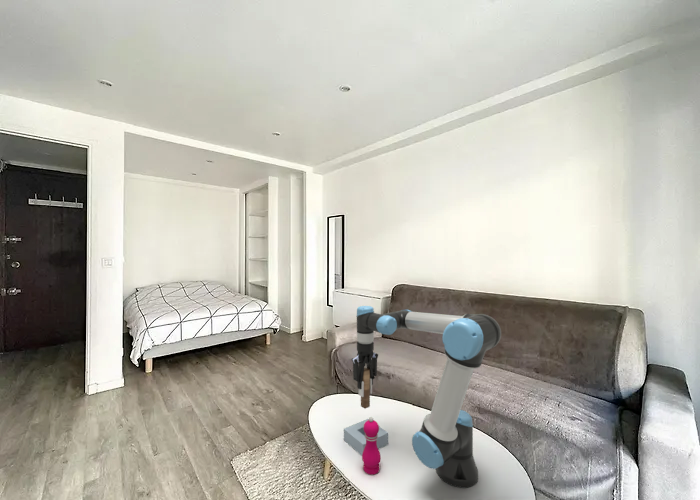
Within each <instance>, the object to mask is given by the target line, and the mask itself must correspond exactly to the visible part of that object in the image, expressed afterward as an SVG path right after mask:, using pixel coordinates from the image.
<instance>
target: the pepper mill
mask: <svg viewBox="0 0 700 500" xmlns="http://www.w3.org/2000/svg"><path fill="white" fill-rule="evenodd" d="M368 419H369V420H368V421H366V422H365V424H364V432H365V439H366V446H365V448H364V451H363V454H362V455H361V459H362V462H363V468H362V469H363V471H364V473H366V474H367V475H371V476H372V475H373V476H374V475H377V474H378V473H379V472H380V467H381V465H380V463H381V460H382V457H381V452H380V450H379V449H378V448H377V439H378V434H377V433H378V431H379V427H380V426H379V424H378V422H377V421H376V420H374V417H372V416H370V417H369V418H368Z"/></svg>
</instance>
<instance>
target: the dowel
mask: <svg viewBox="0 0 700 500" xmlns="http://www.w3.org/2000/svg"><path fill="white" fill-rule="evenodd" d="M362 381H363V382H364V397H361V396H360V407H361V408H363V409H365V410H366V409H369V408H370V406H371V405H370V404H371V399H370V398H371V396H370V395H371V394H370V369H368V368H367V367H364V373H363V379H362Z"/></svg>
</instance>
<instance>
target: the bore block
mask: <svg viewBox="0 0 700 500" xmlns="http://www.w3.org/2000/svg"><path fill="white" fill-rule="evenodd" d="M368 420H369V418H366V419H364V420H361V421H359V422H356V423H355V424H352V425H349V426H348V427H344V428H343V441H344V442H345V443H346V444H348V445H349V446H350V447H351V448H352V449H354V450H355V452H356V453H358V454H359V455H360V456H362V454H363V451H364V448H365V446H366V439H365V432H364V424H365V422H366V421H368ZM377 434H378V439H377V448H378V450H379V449H382V448H384V447H386V446H389V432H388V431H386V430H385V429H384V428H383V427H381V426H379V431H378V433H377Z"/></svg>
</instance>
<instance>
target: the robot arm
mask: <svg viewBox="0 0 700 500" xmlns="http://www.w3.org/2000/svg"><path fill="white" fill-rule="evenodd" d="M374 309H375V308H374V307H373V306H371V305H362V306H361V305H360V306H358V307H357V309H356V341H357V342H356V351H357V353H356V356H355V357H352V358H351V361H352V370H353V373H352V374H353V377H352V378H353V380H354V381H355V382H357V389H358V396H360V398H361V397H364V382H363V381H362V379H363V373H364V368H365V366H366V368H368V369H370V395H372V394H373V385H374V380H375V377H376V376H377V374H378V373H377V372H378V358H379V353H376V352H375V351H374V349H375V348H374V347H375V343H374V342H375V341H374V340H375V339H374V338H375V333H374V332H376V333H379V334H381V335H386V336H391V335H393V334H394V333H395V332H396V330H400V329H404V330H413V331H419V332H427V333H432V334H433V333H434V334H441V335H442V337H441V338H442V344H443V345H444V346H443V347H444V351H443V352H444V355H445V356H446V361H445V365H444V369H443V371H442V375H441V378H440V381H439V384H438V388H437V391H436V395H435V397H434V401H433V403H432V407H431V411H430V413H428V414H426V415H425V416H424V418H423V421H422V424H421V428H420V430H417V431H416V432H415V433H414V434H413V436H412V437H411V438H412V439H411V442H412V443H411V445H412V449H413V451H414V452H415V453H414V454H415V455H416V457H417V458H418V460H419V461H420V462H421V464H422V465H424V466H426V468H428V469H432V470H435V472H436V474H437V476H438V477H439V478H440V479H441V480H442V481H443V482H445V483H446V484H448V485H450V486H452V487H457V488H469V487H473V486H475V484H477V482H478V480H479V471H478V467H477V464H476V461H475V458H474V452H473V451H474V450H473V449H474V448H473V445H474V443H473V440H474V439H473V437H474V436H473V435H474V433H473V431H474V425H473V418H472V416H471V415H470V414H469V412H467V411H465V410H464V409H462V407H463V404H464V401H465V398H466V394H467V391H468V388H469V386H470V382H471V379H472V376H473V373H474V371H475V369H479V368H481V365H482V364H483V361H484V357H485V355H486V352H487V351H489V350H491V349H493V348H494V347H495V348H496V346H497V345H498V344H499V342H500V341H501V338H502V329H501V326H500V324H499V323H498V321H497V320H495V318H493V317H492V316H490V315H488V314H484V313H475V314H474V313H465V314H464V315H454V314H453V315H452V314H443V313H442V314H441V313H434V312H433V313H430V312H422V311H421V312H420V311H418V312H417V311H412V310H411V309H410V310H409V309H401V310H398V311H397V310H396V311H392V312H388V313H383V314H381V313H377V312H375V310H374Z"/></svg>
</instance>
